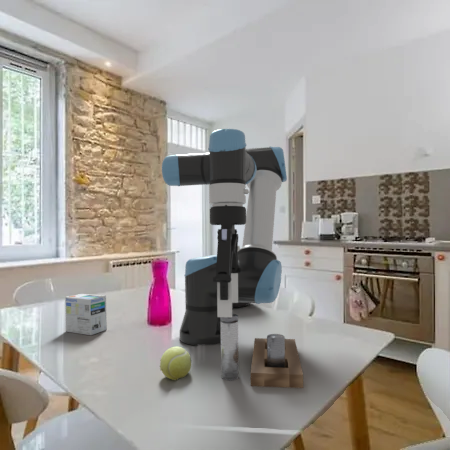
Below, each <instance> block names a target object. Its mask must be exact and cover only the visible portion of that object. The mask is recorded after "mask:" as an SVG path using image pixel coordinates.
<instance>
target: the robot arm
mask: <svg viewBox="0 0 450 450" xmlns="http://www.w3.org/2000/svg"><path fill="white" fill-rule="evenodd" d="M284 153H285V152H284V149H283V148H282V147H280V146H268V147H255V148H254V147H252V148H247V143H246V135H245V133H244V132H243V131H242V130H240V129H235V128H221V129H216V130H213V131H212V132H211V133H210V135H209V141H208V152H203V153H187V154H178V153H176V154H173V155H167V156H165V157H164V159H163V160H162V163H161V174H162V178H163V181H164V182H165V184H167V186H168V187H169V186H171V187H172V186H173V187H183V186H184V187H185V186H202V185H209V189H208V190H209V191H208V192H209V194H208V195H209V196H208V198H209V199H208V200H209V204H210V205H212V206H211V207H210V208H209V223H210V225H212V226H220V228H218V229H217V231H216V232H217V238H216V239H217V249H216V254H211V255H206V256H200V257H193V258H190V259H188V260H187V261H186V263H185V266H184V267H185V270H184V271H185V272H184V285H185V286H184V290H185V291H184V292H185V297H184V298H185V302H184V303H185V312H184V315H183V318H182V321H181V324H180V329H179V340H180V341H181V342H182V343H184V344H186V345H191V346H196V347H197V346H200V345H201V346H213V345H218V344H220V345H221V321H220V317H232V314H233V308H232V303H238V302H242V303H249V304H257V305H260V304H272V303H273V302H275V301H276V299H277V298H278V296H279V292H280V288H281V282H282V271H283V269H282V268H283V267H282V262H281V261H280V260H278V257H277V254H276V253H275V252H273V240H274V230H275V229H274V227H275V226H274V225H275V213H276V201H277V200H276V199H277V191H278V190H280V188H281V187H282V184H283V183H284V182H287V180H288V177H287V171H286V160H285V155H284ZM246 187H247V188H249V189H247V188H246ZM246 195H248V197H246ZM246 203H247V206H246V207H245V206H243V205H245V204H246ZM236 226H244V229H243V230H244V231H243V237H242V246H241V247H240V249H239V250H238V246H239V244H238V243H239V234H238V230H237V229H236V228H235V227H236Z"/></svg>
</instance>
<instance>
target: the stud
mask: <svg viewBox="0 0 450 450" xmlns="http://www.w3.org/2000/svg"><path fill="white" fill-rule="evenodd" d="M220 321H221V343H220V377H221V379H222V380H225V381H234V380H235V381H236V380H237V379H239V315H238V314H235V313H232V317H220Z"/></svg>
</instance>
